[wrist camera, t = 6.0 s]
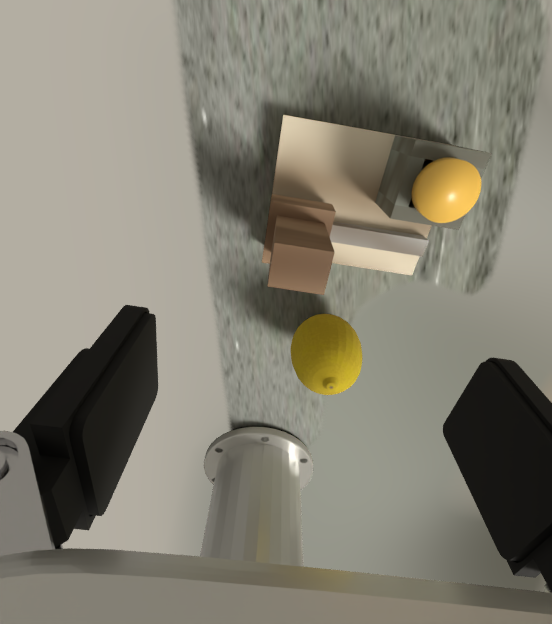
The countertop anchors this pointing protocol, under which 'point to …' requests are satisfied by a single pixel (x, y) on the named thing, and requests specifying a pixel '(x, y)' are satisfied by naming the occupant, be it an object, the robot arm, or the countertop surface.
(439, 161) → the button
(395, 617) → the robot arm
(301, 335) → the lemon
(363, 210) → the rail base
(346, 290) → the countertop surface
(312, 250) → the block
